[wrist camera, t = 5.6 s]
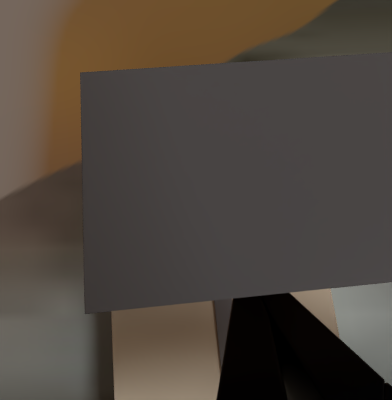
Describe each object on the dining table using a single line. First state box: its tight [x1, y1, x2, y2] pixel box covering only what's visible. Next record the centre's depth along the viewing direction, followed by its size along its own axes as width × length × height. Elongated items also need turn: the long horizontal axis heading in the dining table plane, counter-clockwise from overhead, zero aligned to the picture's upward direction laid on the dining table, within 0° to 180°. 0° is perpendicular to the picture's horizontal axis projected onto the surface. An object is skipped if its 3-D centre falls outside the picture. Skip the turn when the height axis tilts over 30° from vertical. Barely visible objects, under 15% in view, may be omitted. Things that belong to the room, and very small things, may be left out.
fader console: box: [111, 288, 340, 400], centre depth 16 cm, size 16×10×2 cm, turn 6°
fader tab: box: [80, 52, 392, 314], centre depth 10 cm, size 4×6×11 cm, turn 96°
